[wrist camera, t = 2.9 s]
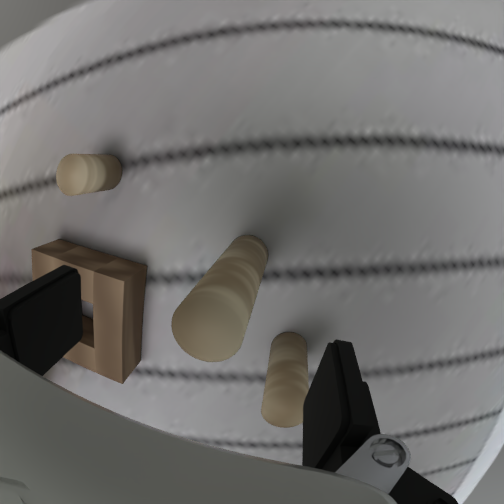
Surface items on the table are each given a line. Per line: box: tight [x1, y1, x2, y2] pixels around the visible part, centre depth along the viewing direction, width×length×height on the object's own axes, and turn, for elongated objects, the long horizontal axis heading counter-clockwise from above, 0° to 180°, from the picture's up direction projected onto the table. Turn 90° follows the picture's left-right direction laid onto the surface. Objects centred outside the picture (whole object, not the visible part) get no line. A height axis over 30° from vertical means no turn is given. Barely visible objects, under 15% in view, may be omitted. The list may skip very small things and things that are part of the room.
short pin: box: [56, 154, 122, 196], centre depth 21 cm, size 3×3×5 cm
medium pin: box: [261, 332, 309, 428], centre depth 21 cm, size 3×3×8 cm
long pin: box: [172, 235, 268, 362], centre depth 18 cm, size 3×3×12 cm
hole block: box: [32, 239, 147, 384], centre depth 25 cm, size 10×10×4 cm
